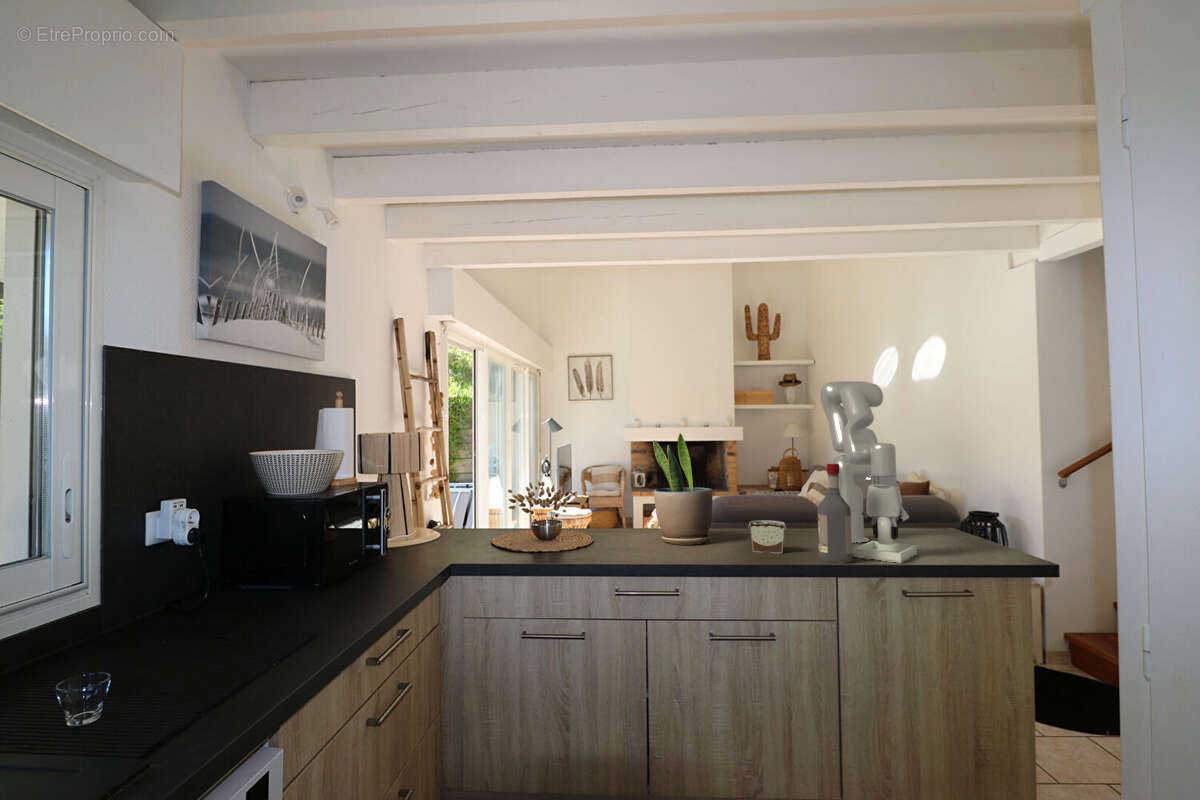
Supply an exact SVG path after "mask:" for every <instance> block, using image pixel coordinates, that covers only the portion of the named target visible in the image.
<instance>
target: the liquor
mask: <svg viewBox="0 0 1200 800" xmlns="http://www.w3.org/2000/svg"><path fill="white" fill-rule="evenodd" d="M826 474H827V494H826V495H825V497H823V499H822V500H821V501H820V502H819V503H818V506H817V531H818V534H817V535H818V536H817V537H818V538H817V539H818V541H817V542H818V556H819V558H820V560H821V562H823V561H824V563H828V562H842V563H841V564H847V563H846V562H850V563H851V562H852V560H853V551H852V550H853V545H852V544H853V543H852V537H851V510H850V507H849V505H848V504H847V503H846V502H845V501H844V499H843V498H842V497H841V496H840V492H839V476H838V474H839V464H832V463H826Z"/></svg>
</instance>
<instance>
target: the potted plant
mask: <svg viewBox="0 0 1200 800" xmlns="http://www.w3.org/2000/svg"><path fill="white" fill-rule="evenodd" d="M652 443H653V452H654V455H655V458H656V461H657V463H658V465H659V467H660V468H661V469H662V470H663V471H662V472H663V473H664V475H665V477H666V479H667V483H668V484H669V485H668V486H669V487H667V488H666V487H664V488H663V487H662V488H656V489H653V496H654V506H655V514H656V520H657V524H658V527H659V529H660V531H661V533H662V536H661V539H662V540H663V542H665V543H668V544H672V545H686V546H687V545H689V546H690V545H700V544H705V543H707V542H708V541H709V540H710V539H711V536H710V534H708V533H709V531H710V528H711V525H712V518H713V489H712V488H710V487H709V488H707V487H693V486H694V484H693V483H694V482H693V481H694V480H693V473H692V465H691V464H692V463H691V457H690V454H689V450H688V446H687V443H686V441H685V439H684V437H683V435H682V433H681V432H679V434H678V437H677V453H678V455H677V456H678V459H679V460H678V461H679V463H680V465H679V464H678V461H677V458H676V456H675V454H674V452H673V449H671V447H670V445H669V444H668V445H667V446H666V447H667V448H666V449H667V451H666V452H667V455H666V454H665V452H664V451H663V449H662V447H661V446H660V444H659V443H658V441H656V440H653V442H652ZM666 456H667V457H666ZM681 469H682V470H683V472H684V474H685V477H686V479H687V483H688V487H684V480H683V476H682V471H681Z"/></svg>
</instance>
